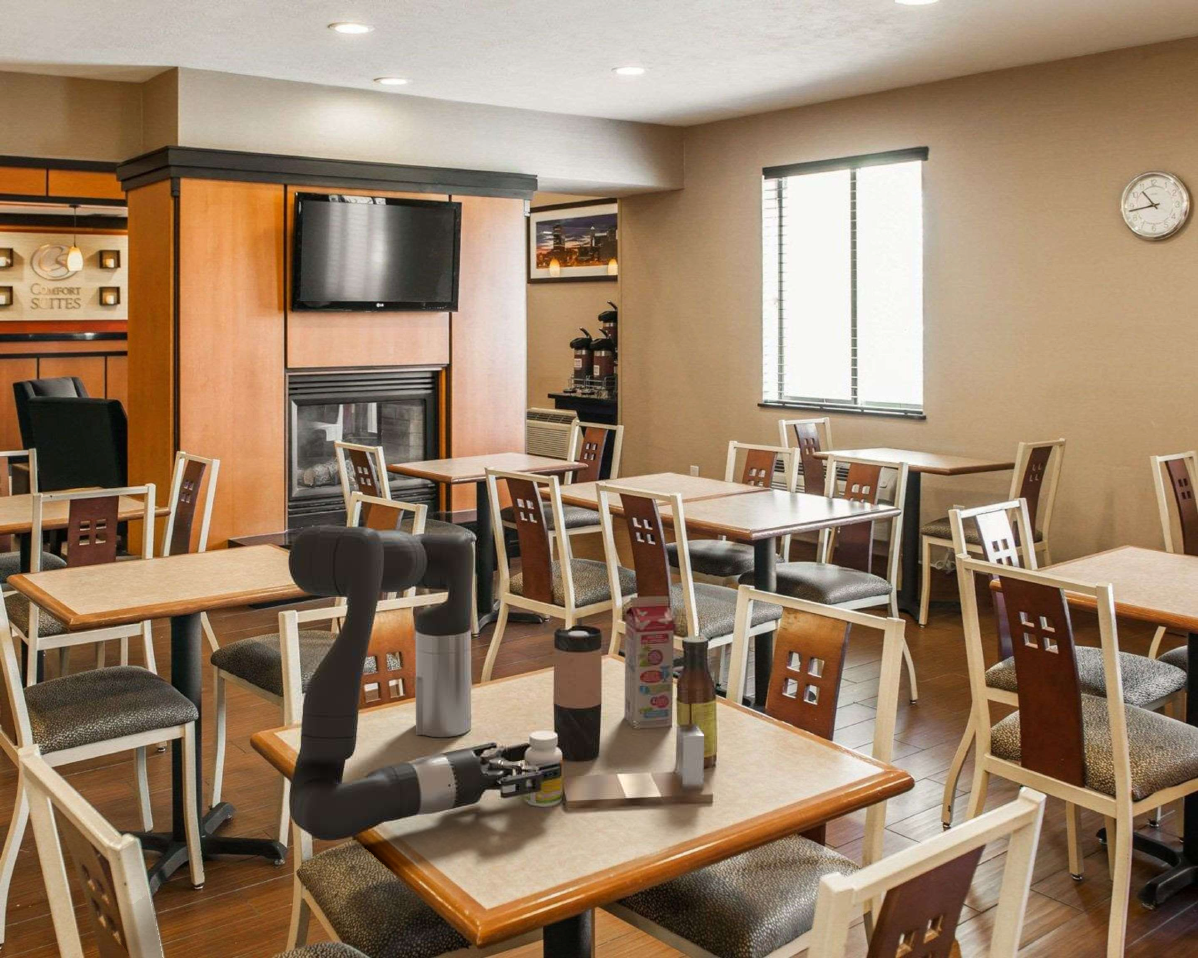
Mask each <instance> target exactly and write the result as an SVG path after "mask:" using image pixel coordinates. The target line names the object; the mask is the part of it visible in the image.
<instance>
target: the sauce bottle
mask: <svg viewBox="0 0 1198 958" xmlns="http://www.w3.org/2000/svg"><path fill="white" fill-rule="evenodd" d="M681 640H682V641H681V648H682V650H683V663H682V666H683V667H682V669H681V671H680V673H678V674H679V675H678V676H677V680H676V699H675V702H676V726H677V725H687V724H697V726H698V727H699V729H700V730H701V732H702V733H703V735H704V766H703V769H705V768H709V767H712V766H714V765H715V764H716V762H717V760H718V759H717V752H718V726H717V725H718V724H717V722H718V721H717V719H718V718H717V715H718V714H717V692H716V685H715V682H714V680H713V678H712V675H711V672H710V670H709V662H708V649H709V645H710V644H709V639H708V637H705V636H702V635H701V636H700V635H692V636H691V635H690V636H684V637H683V638H682V639H681Z"/></svg>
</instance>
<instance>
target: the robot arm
mask: <svg viewBox="0 0 1198 958" xmlns="http://www.w3.org/2000/svg"><path fill="white" fill-rule="evenodd" d="M474 561H475V560H474V547H473V543H472V541H471V539H470V538H469V536H467V535H463V534H455V533H454V534H450V533H449V534H448V533H419V534H418V533H417V534H414V535H413V534H411V533H409V532H405V531H402V530H394V529H379V530H378V529H377V530H375V529H374V528H370V527H364V526H347V525H346V526H344V525H327V524H326V525H325V524H321V525H320V524H319V525H312V526H310V527H307V528H306V529H304V530H302V531H301V532H300V533H299V534H298V535H297V537H296V538H295V539H294V541H293V543H292V545H291V547H290V550H289V555H288V562H287V563H288V570H289V573H290V576H291V579H292V581H293V582H294V583H295V585H296V586H297V588H299V589H300V591H302V592H305V593H306V594H309V595H312V596H320V597H333V598H334V597H335V598H347V608H346V612H345V618H344V620H343V623H342V627H341V629H340V631H339V633H338V635H337V637H336V639H335V640H334V643H333V644H332V645H331V647H330V649H329V650H328V651H327V653H326V655H324V657H323V659H322V660H321V661H320V663H319V665H318V666H317V667H316V669H315V671H314V672H313V674H312V676H311V678H310V679H309V682H308V684H307V687H306V689H305V693H304V697H303V703H302V704H303V705H302V715H301V729H300V747H299V748H300V749H299V752H298V755H297V759H296V761H295V765H294V770H293V774H292V778H291V781H290V787H289V795H288V807H289V813H290V816H291V819H292V821H293V822H294V824H295V825H296V826H297V827H298V828H300V829H301V830H303V831H304V832H305V833H307V834H309V835H310V836H312V837H313V838H314V839H317V840H320V841H325V842H329V841H330V842H331V841H338V840H345V839H349V838H351V837H353V836H357V835H360V834H361V833H364V832H367V831H368V830H371V829H373V828H375V827H378V826H380V825H382V824H383V823H388V822H393V821H397V820H398V821H399V820H402V819H406V818H411V817H414V816H415V817H416V816H423V815H432V814H437V813H441V812H445V811H449V810H455V809H458V808H463V807H467V806H471V805H475V804H477V803H478V802H479V801H481V798H482V797H483V794H484V793H485V792H486V791H487V790H488V791H489V790H490V791H500V792H499V793H500V798H502V799H509V798H513V797H518V796H525V794H529V793H534V792H539V791H541V782H544V781H548V780H552V779H557V778H560V777H561V775H562V776H563V763H562V764H561V763H559V762H558V761H556V762H551V763H547V764H542V765H538V766H525V765H524V764H523V763H522V761H525V752H526V750H527V749H528V748H530V747H531V746H530V743H529V742H525V743H521V744H516V745H515V744H514V745H512V746H511V745H510V746H506V745H498V744H497V742H493V741H492V742H488V743H485V744H480V745H476V746H471V747H467V748H461V749H455V750H451V751H446V752H442V753H436V754H431V755H426V756H422V757H419V758H416V759H415V758H414V759H413V760H410V761H406V762H400V763H397V764H396V763H395V764H392V765H388V766H384V767H380V768H379V767H378V768H376V769H374V770H372V771H370V772H368V773H367V774H366V776H365V777H363V778H360V779H357V780H356V779H355V780H352V781H348V782H343V776H344V770H345V765H346V761H347V760H349V759H350V758H351V757H353V755H354V753H355V750H356V745H357V739H358V738H357V737H358V736H357V734H358V725H359V724H358V723H359V710H360V709H359V707H360V697H361V686H362V679H363V675H364V669H365V664H366V659H367V656H368V655H367V654H368V650H369V645H370V642H371V637H372V636H371V635H372V632H373V628H374V622H375V616H376V612H377V607H378V603H379V598H380V597H379V596H380V593H382V594H383V593H384V594H385V593H387V594H389V593H399V592H403V591H407V590H410V589H412V588H417V589H423V590H424V589H425V590H426V589H427V590H443V591H445V590H446V591H447V598H446V600H445V601H443V602H441V603H439V604H436V605H432V606H429V607H426V608H423V609H421V610H420V611H418V612H417V613H416V615H415V621H414V625H415V626H414V627H415V628H414V629H415V682H414V683H415V735H416V736H427V737H431V738H432V737H434V738H448V737H449V738H450V737H456V736H460V735H464V734H466V733H468V732H469V731H470V730H471V729H472V611H473V583H474V582H473V580H474V579H473V578H474ZM514 770H515V775H514ZM525 772H530V773H525ZM526 786H529V787H526Z"/></svg>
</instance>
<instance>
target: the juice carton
mask: <svg viewBox="0 0 1198 958" xmlns="http://www.w3.org/2000/svg"><path fill="white" fill-rule="evenodd" d="M669 600H670V599H669V595H665V596H664V595H663V596H659V595H658V596H639V597H638V596H636V597H630V607H629V608H628V609H627V610H626V612H625V631H624V632H625V634H624V636H625V637H624V638H625V640H624V641H625V643H624V644H625V647H624V648H625V649H624V707H623V708H624V712H623V713H624V718H625V720H627V722H628V723H629V724H630V726H631V727H632V728H633V729H634V730H641V728H644V729H654V728H655V729H657V728H668V727H669V728H670V727H673V705H674V704H673V698H674V695H673V694H674V693H673V691H674V690H673V688H674V640H675V639H674V637H675V636H674V635H675V633H674V632H675V620H674V616H673V615H672V612H671V610H670V608H669V604H670V603H669ZM634 721H635V722H634Z"/></svg>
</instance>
